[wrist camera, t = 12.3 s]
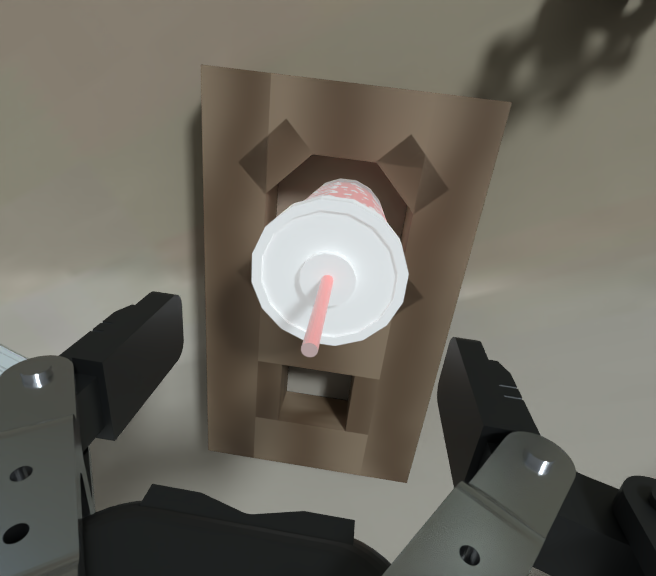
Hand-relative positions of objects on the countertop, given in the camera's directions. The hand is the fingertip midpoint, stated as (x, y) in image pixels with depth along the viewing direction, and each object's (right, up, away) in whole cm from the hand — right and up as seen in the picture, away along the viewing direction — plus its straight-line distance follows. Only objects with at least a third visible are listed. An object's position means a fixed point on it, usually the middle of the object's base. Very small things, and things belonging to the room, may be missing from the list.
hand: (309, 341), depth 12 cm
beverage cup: (+1, +6, +12) cm, 13 cm away
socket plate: (+1, +1, +14) cm, 14 cm away
